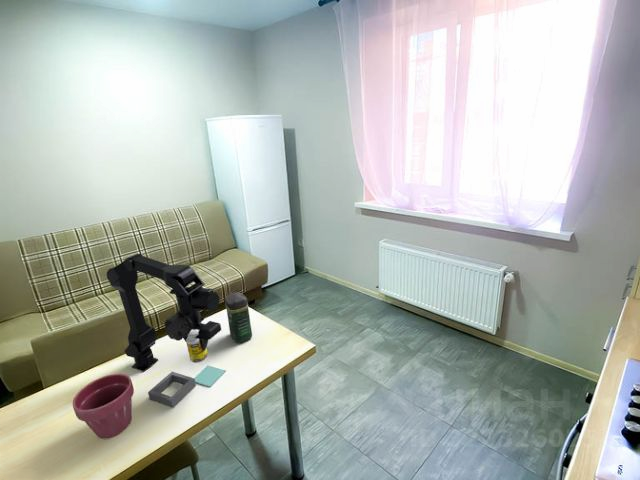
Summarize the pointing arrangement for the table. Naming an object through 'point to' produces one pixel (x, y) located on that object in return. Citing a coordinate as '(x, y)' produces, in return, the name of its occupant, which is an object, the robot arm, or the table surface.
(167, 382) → the socket
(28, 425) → the table surface
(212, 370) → the mat
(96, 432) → the plant pot
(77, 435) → the table surface
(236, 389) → the table surface
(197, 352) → the supplement bottle
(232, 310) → the coffee jar
